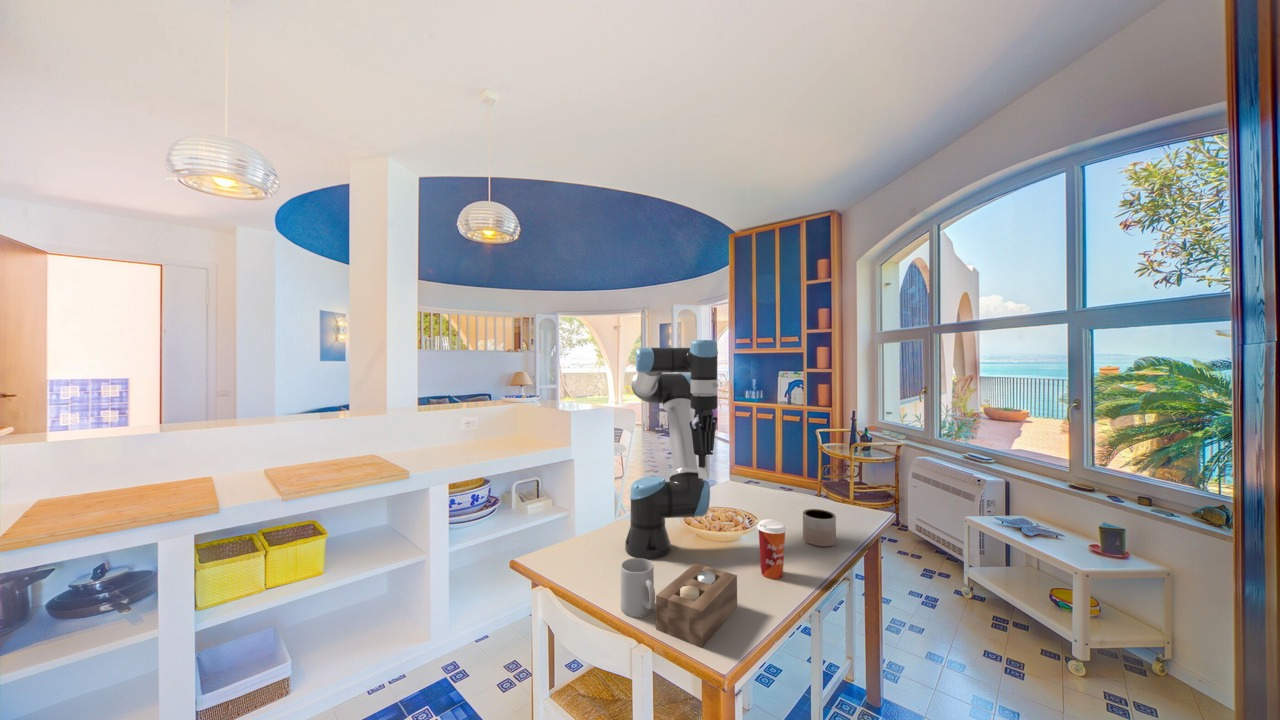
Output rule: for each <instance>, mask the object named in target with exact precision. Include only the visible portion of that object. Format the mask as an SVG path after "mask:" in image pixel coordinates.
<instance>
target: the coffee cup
mask: <svg viewBox="0 0 1280 720" xmlns="http://www.w3.org/2000/svg"><path fill="white" fill-rule="evenodd" d="M756 528H757V530H758V540H759V543H758V544H759V556H760V557H759V558H760V573H761V576H763V578H764V577H765V578H766V579H770V580H779V579H781V578H783V572H784V562H785V561H784V559H785V556H784V555H785V543H786V542H785V541H786V540H785V539H786V532H787V527H786V526H785V523H783V522H782V521H780V520H776V519H770V518H767V519H766V518H765V519H762V520H760V521H759V522H758V524H757V526H756Z"/></svg>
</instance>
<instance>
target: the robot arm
mask: <svg viewBox="0 0 1280 720" xmlns="http://www.w3.org/2000/svg"><path fill="white" fill-rule="evenodd" d="M718 354H719V350H718V342H717V341H716V340H714V339H694V340H692V341H691V342H690V347H650V346H647V347H638V348H637V349H636V351H635V369H636V372H637V373H636V374H635V375H634V376H633V378H632V381H631V389H632V392H633V394H634V395H635V396H636V397H637V398H638V399H640V400H641V401H643V402H645V403H649V404H661V405H662V407H663V408H662V409H663V410H664V411H666V412H667V418H668V430H669V431H668V432H669V441H670V452H671V462H672V473H671V474H670V475H669V481H666V479H665V478H664V477H662V476H655V475H654V476H652V475H651V476H645V477H641V478H638V479H637V480H635V481H634V482H632V484H631V486H630V494H629V499H630V527H629V528H628V532H627V536H626V539H625V542H624V543H625V544H624V546H625V547H624V548H625V549H624V550H625V552H626V553H627V554H628V555H629V556H632V557H633V558H642V559H647V560H650V559H659V558H662V557H665V556H667V555H668V554H669V553H670V552H671V541H670V537H669V534H668V531H667V528H666V519H670V518H671V519H673V518H674V519H675V518H679V519H680V518H696V517H698V518H699V517H704V516H705V515H707V513H708V511H709V507H710V502H711V501H710V500H711V487H710V486H711V485H710V482H709V481H708V479H710V456H713V454H714V447H715V438H716V429H717V428H716V427H717V424H718V423H717V422H718V417H717V416H714V411H713V410H716V409H718V396H717V395H716V394H718V387H719V383H718ZM689 373H690V374H689ZM691 409H692V410H694V415H693V418H694V419H693V421H692V414H691V413H692V412H691ZM697 456H698V458H697ZM697 460H698V462H697Z"/></svg>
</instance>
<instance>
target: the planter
mask: <svg viewBox="0 0 1280 720" xmlns="http://www.w3.org/2000/svg"><path fill="white" fill-rule="evenodd" d="M802 539H803V541H805V543H807V544H809V545H811V546H814V547H815V546H816V547H817V548H819V547H820V548H829V547H833V546H835V545H836V544H837V516H836V514H835V513H833V512H832V511H828V510H826V509H825V510H824V509H819V508H817V509H816V508H808V509H805V510H803V512H802Z"/></svg>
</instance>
